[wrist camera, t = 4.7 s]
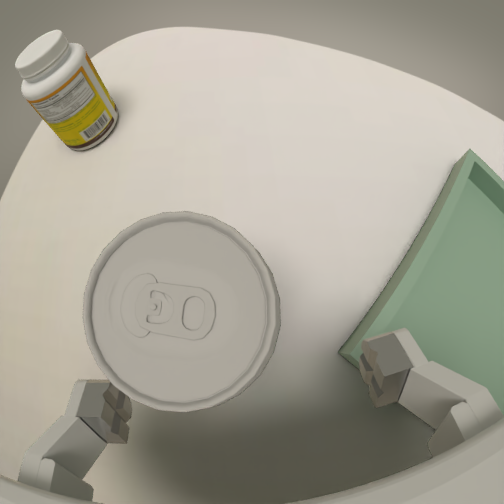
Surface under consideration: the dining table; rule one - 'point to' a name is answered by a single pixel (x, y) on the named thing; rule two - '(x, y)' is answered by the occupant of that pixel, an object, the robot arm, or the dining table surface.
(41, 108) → the supplement bottle
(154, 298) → the beverage can
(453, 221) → the green tray
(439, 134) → the dining table surface
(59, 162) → the dining table surface
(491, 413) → the robot arm
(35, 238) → the dining table surface
